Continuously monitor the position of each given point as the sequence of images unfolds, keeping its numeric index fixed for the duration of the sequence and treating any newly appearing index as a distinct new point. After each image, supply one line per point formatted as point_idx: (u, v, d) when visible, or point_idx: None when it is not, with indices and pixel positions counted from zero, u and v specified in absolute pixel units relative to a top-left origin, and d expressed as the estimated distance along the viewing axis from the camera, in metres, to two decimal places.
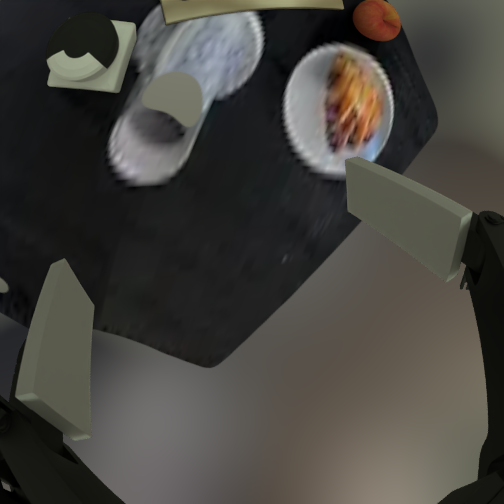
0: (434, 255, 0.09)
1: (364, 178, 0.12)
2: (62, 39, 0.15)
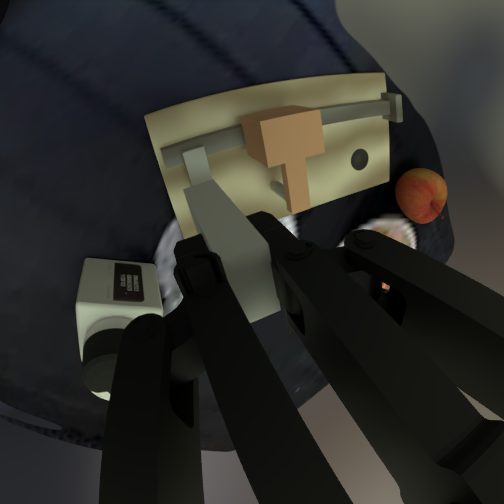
0: None
1: None
2: (100, 384, 0.19)
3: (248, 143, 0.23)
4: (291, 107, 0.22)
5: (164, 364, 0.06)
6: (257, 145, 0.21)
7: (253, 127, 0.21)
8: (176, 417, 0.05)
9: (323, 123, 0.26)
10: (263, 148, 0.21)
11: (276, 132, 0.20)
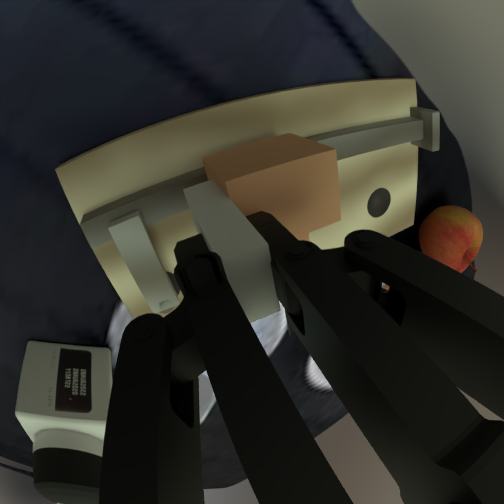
0: None
1: None
2: (55, 500, 0.10)
3: None
4: (286, 139, 0.14)
5: (164, 364, 0.06)
6: None
7: (218, 185, 0.12)
8: (176, 417, 0.05)
9: None
10: None
11: (257, 198, 0.12)
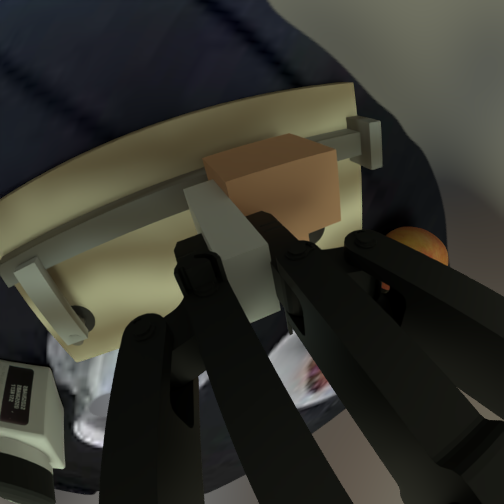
0: None
1: None
2: (2, 496, 0.09)
3: None
4: (286, 140, 0.14)
5: (164, 364, 0.06)
6: None
7: (218, 185, 0.12)
8: (176, 417, 0.05)
9: None
10: None
11: (257, 198, 0.12)
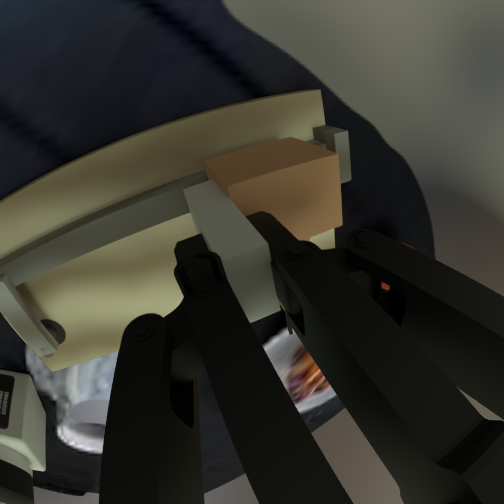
0: None
1: None
2: None
3: None
4: (288, 144, 0.14)
5: (164, 364, 0.06)
6: None
7: None
8: (176, 417, 0.05)
9: (179, 213, 0.16)
10: None
11: (259, 202, 0.12)
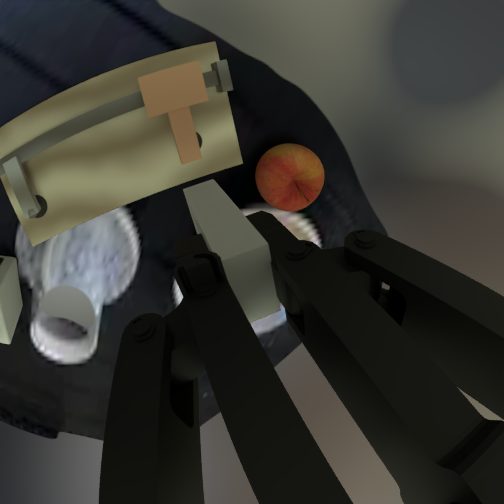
0: None
1: None
2: None
3: None
4: None
5: (164, 364, 0.06)
6: None
7: None
8: (176, 417, 0.05)
9: (123, 111, 0.23)
10: None
11: (154, 85, 0.19)
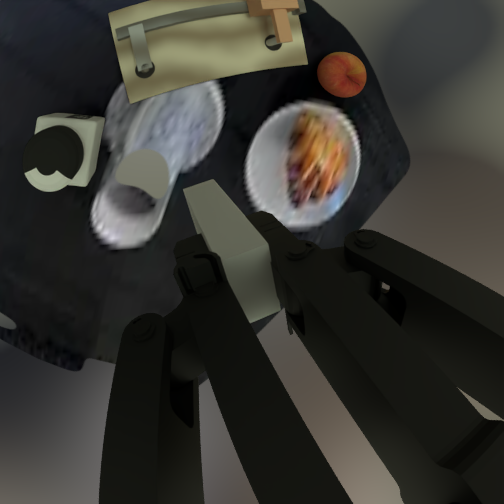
0: None
1: None
2: (33, 157, 0.21)
3: (250, 7, 0.28)
4: None
5: (164, 364, 0.06)
6: (256, 2, 0.26)
7: None
8: (176, 417, 0.05)
9: (233, 11, 0.28)
10: None
11: None
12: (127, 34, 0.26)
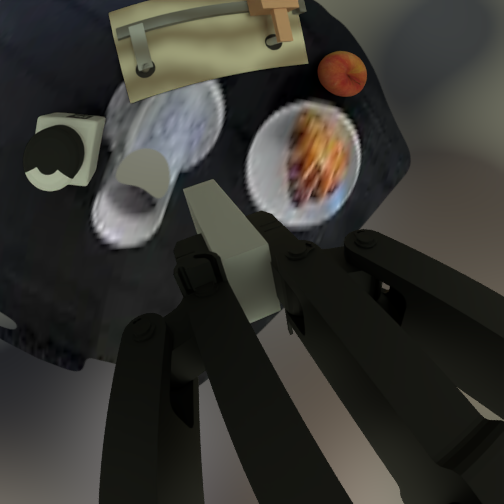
0: None
1: None
2: (33, 157, 0.21)
3: (250, 7, 0.28)
4: None
5: (164, 364, 0.06)
6: (256, 1, 0.26)
7: None
8: (176, 417, 0.05)
9: (233, 10, 0.28)
10: None
11: None
12: (127, 34, 0.26)
